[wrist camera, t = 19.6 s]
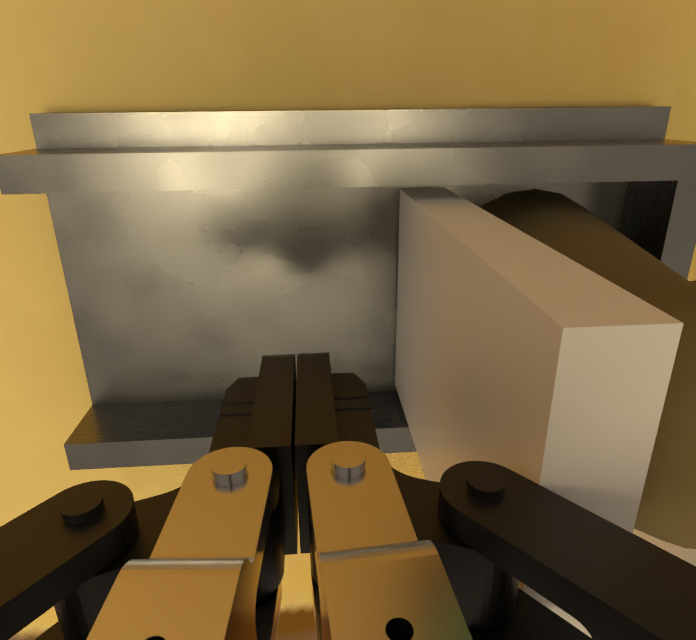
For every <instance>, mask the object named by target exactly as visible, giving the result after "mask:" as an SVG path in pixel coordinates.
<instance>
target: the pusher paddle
mask: <svg viewBox="0 0 696 640" xmlns="http://www.w3.org/2000/svg"><path fill="white" fill-rule="evenodd" d="M683 324H684V323H682V322H681V321H679V320H677V319H675V318H674V317H672V316H670V315H668V314H666V313H665V312H663V311H661V310H659V309H658V308H656V307H654V306H652V305H651V304H649V303H647V302H645V301H644V300H642V299H640V298H638V297H637V296H635V295H633V294H631V293H630V292H628V291H626V290H624V289H622V288H621V287H619V286H617V285H615V284H614V283H612V282H610V281H608V280H607V279H605V278H603V277H601V276H600V275H598V274H596V273H594V272H593V271H591V270H589V269H587V268H585V267H584V266H582V265H580V264H578V263H577V262H575V261H573V260H571V259H570V258H568V257H566V256H564V255H563V254H561V253H559V252H557V251H556V250H554V249H552V248H550V247H549V246H547V245H545V244H543V243H541V242H540V241H538V240H536V239H534V238H533V237H531V236H529V235H527V234H526V233H524V232H522V231H520V230H519V229H517V228H515V227H513V226H512V225H510V224H508V223H506V222H505V221H503V220H501V219H499V218H497V217H496V216H494V215H492V214H490V213H489V212H487V211H485V210H483V209H482V208H480V207H478V206H476V205H475V204H473V203H471V202H469V201H468V200H466V199H464V198H462V197H461V196H459V195H457V194H455V193H453V192H452V191H450V190H448V189H446V188H418V189H400V208H399V246H398V285H397V323H396V362H395V386H396V389H397V392H398V395H399V398H400V402H401V405H402V408H403V411H404V414H405V417H406V420H407V423H408V426H409V429H410V432H411V435H412V439H413V442H414V445H415V448H416V451H417V454H418V457H419V460H420V463H421V466H422V469H423V473H424V476H425V479H426V480H430V481H436V482H440V479H441V476H442V474H443V473H444V472H445V471H446V470H447V469H448V468H449V467H451V466H453V465H455V464H458V463H461V462H466V461H485V462H491V463H495V464H498V465H501V466H504V467H506V468H508V469H510V470H512V471H514V472H516V473H518V474H520V475H522V476H524V477H526V478H527V479H529V480H531V481H533V482H535V483H537V484H539V485H541V486H543V487H545V488H547V489H548V490H550V491H552V492H554V493H556V494H558V495H560V496H562V497H564V498H566V499H568V500H569V501H571V502H573V503H575V504H577V505H579V506H581V507H583V508H585V509H587V510H589V511H590V512H592V513H594V514H596V515H598V516H600V517H602V518H604V519H606V520H608V521H610V522H611V523H613V524H615V525H617V526H619V527H621V528H623V529H625V530H627V531H629V532H631V533H633V529H634V525H635V521H636V517H637V513H638V509H639V505H640V500H641V496H642V492H643V488H644V484H645V480H646V476H647V472H648V468H649V463H650V459H651V455H652V451H653V447H654V443H655V439H656V435H657V431H658V426H659V422H660V418H661V414H662V410H663V406H664V402H665V398H666V394H667V390H668V385H669V381H670V377H671V373H672V369H673V365H674V361H675V357H676V353H677V348H678V344H679V340H680V336H681V332H682V328H683ZM519 589H521V590H522V591H524V592H525V593H527V594H528V595H530V596H531V597H533V598H534V599H535V600H537V601H538V602H540V603H541V604H543V605H544V606H546V607H547V608H549V609H550V610H551V611H553V612H554V613H556V614H557V615H559V616H560V617H562V618H563V619H564V620H566V621H567V622H569V623H570V624H572V625H573V626H575V627H576V628H578V629H579V630H580V631H582V632H583V633H585V634H586V635H588V636H589V637H591V635H590V634H589V632H588V631H587V630H586V628H585V627H584V626H583V625H582V624H581V623H580V622H579V621H577V620H576V619H575V618H573V617H572V616H571V615H569V614H568V613H566V612H565V611H563V610H562V609H560V608H559V607H557V606H556V605H554V604H553V603H551V602H550V601H548V600H547V599H546V598H544V597H543V596H541V595H540V594H538V593H537V592H535V591H534V590H532V589H531V588H529V587H528V586H526V585H525V584H523V583H522V582H520V581H519ZM591 638H592V637H591Z"/></svg>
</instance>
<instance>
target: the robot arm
mask: <svg viewBox="0 0 696 640" xmlns="http://www.w3.org/2000/svg"><path fill="white" fill-rule="evenodd" d="M298 513H299V531H300V549H301V553H310V558H311V579H312V597H313V606H314V616H315V625H316V634H317V640H696V567H695V566H694V565H692V564H690V563H688V562H686V561H684V560H682V559H680V558H678V557H676V556H674V555H673V554H670V553H669V552H667V551H665V550H663V549H661V548H659V547H657V546H655V545H653V544H652V543H650V542H648V541H646V540H644V539H642V538H640V537H638V536H636V535H634V534H632V533H631V532H629V531H627V530H625V529H623V528H621V527H619V526H617V525H615V524H613V523H611V522H610V521H608V520H606V519H604V518H602V517H600V516H598V515H596V514H594V513H592V512H590V511H589V510H587V509H585V508H583V507H581V506H579V505H577V504H575V503H573V502H571V501H569V500H568V499H566V498H564V497H562V496H560V495H558V494H556V493H554V492H552V491H550V490H548V489H547V488H545V487H543V486H541V485H539V484H537V483H535V482H533V481H531V480H529V479H527V478H526V477H524V476H522V475H520V474H518V473H516V472H514V471H512V470H510V469H508V468H506V467H504V466H501V465H498V464H495V463H491V462H485V461H466V462H461V463H458V464H455V465H453V466H451V467H449V468H448V469H447V470H446V471H445V472H444V473H443V474H442V476H441V479H440V482H436V481H430V480H424V479H419V478H414V477H411V476H408V475H405V474H403V473H401V472H399V471H397V470H395V469H394V468H392V467H391V465H390V462H389V460H388V458H387V456H386V455H385V454H384V453H383V452H382V451H381V450H380V448H379V443H378V439H377V434H376V430H375V425H374V421H373V416H372V412H371V407H370V403H369V399H368V394H367V389H366V385H365V383H364V382H363V381H362V380H361V379H360V378H359V377H358V376H357V375H356V374H355V373H331V365H330V355H329V352H325V353H301V354H297V379H296V360H295V354H279V355H263V356H262V360H261V366H260V372H259V377H241V378H238V379H237V380H236V381H235V382H234V383H233V384H232V385H231V386H230V387H229V388H227V389H226V392H225V396H224V399H223V403H222V407H221V410H220V414H219V418H218V421H217V425H216V428H215V432H214V436H213V439H212V443H211V446H210V450H209V453H208V454H206V455H204V456H203V457H201V458H200V459H198V460H197V461H196V462H195V463H194V464H193V465H192V466H191V467H190V468H189V470H188V472H187V474H186V476H185V479H184V481H183V483H182V486H181V487H179V488H177V489H175V490H173V491H170V492H167V493H164V494H161V495H157V496H154V497H150V498H146V499H143V500H139V501H135V502H134V498H133V494H132V492H131V490H130V489H129V488H128V487H127V486H125V485H124V484H121V483H119V482H115V481H108V480H100V481H91V482H86V483H82V484H79V485H76V486H73V487H71V488H68V489H66V490H64V491H62V492H60V493H58V494H56V495H55V496H53V497H51V498H49V499H48V500H46V501H44V502H43V503H41V504H39V505H37V506H36V507H34V508H32V509H31V510H29V511H27V512H25V513H24V514H22V515H20V516H18V517H17V518H15V519H13V520H12V521H10V522H8V523H6V524H5V525H3V526H1V527H0V640H8V639H10V638H11V637H12V636H14V635H15V634H16V633H18V632H19V631H20V630H22V629H23V628H24V627H26V626H27V625H29V624H30V623H31V622H33V621H34V620H35V619H37V618H38V617H39V616H41V615H42V614H43V613H45V612H46V611H47V610H49V609H50V608H51V607H53V606H54V607H55V611H56V614H57V617H58V622H57V623H56V624H54V625H53V626H52V627H50V628H49V629H48V630H46V631H45V632H44V633H43V634H41V635H40V636H39V637H37V638H36V639H35V640H276V634H277V626H278V620H279V612H280V605H281V598H282V586H281V580H282V577H283V573H284V558H285V555H288V554H297V540H298ZM519 581H520V582H522V583H523V584H525V585H526V586H528V587H529V588H531V589H532V590H534V591H535V592H537V593H538V594H540V595H541V596H543V597H544V598H546V599H547V600H548V601H550V602H551V603H553V604H554V605H556V606H557V607H559V608H560V609H562V610H563V611H565V612H566V613H568V614H569V615H571V616H572V617H573V618H575V619H576V620H577V621H579V622H580V623H581V624H582V625H583V626H584V627H585V628H586V630H587V631H588V632H589V634H590V635H591V637H592V638H591V637H589V636H588V635H586V634H585V633H583V632H582V631H580V630H579V629H578V628H576V627H575V626H573V625H572V624H570V623H569V622H567V621H566V620H564V619H563V618H562V617H560V616H559V615H557V614H556V613H554V612H553V611H551V610H550V609H549V608H547V607H546V606H544V605H543V604H541V603H540V602H538V601H537V600H535V599H534V598H533V597H531V596H530V595H528V594H527V593H525V592H524V591H522V590H521V589H519Z"/></svg>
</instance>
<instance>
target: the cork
mask: <svg viewBox="0 0 696 640" xmlns="http://www.w3.org/2000/svg"><path fill="white" fill-rule="evenodd" d="M480 208H482V209H483V210H485V211H487V212H489V213H490V214H492V215H494V216H496V217H497V218H499V219H501V220H503V221H505V222H506V223H508V224H510V225H512V226H513V227H515V228H517V229H519V230H520V231H522V232H524V233H526V234H527V235H529V236H531V237H533V238H534V239H536V240H538V241H540V242H541V243H543V244H545V245H547V246H549V247H550V248H552V249H554V250H556V251H557V252H559V253H561V254H563V255H564V256H566V257H568V258H570V259H571V260H573V261H575V262H577V263H578V264H580V265H582V266H584V267H585V268H587V269H589V270H591V271H593V272H594V273H596V274H598V275H600V276H601V277H603V278H605V279H607V280H608V281H610V282H612V283H614V284H615V285H617V286H619V287H621V288H622V289H624V290H626V291H628V292H630V293H631V294H633V295H635V296H637V297H638V298H640V299H642V300H644V301H645V302H647V303H649V304H651V305H652V306H654V307H656V308H658V309H659V310H661V311H663V312H665V313H666V314H668V315H670V316H672V317H674V318H675V319H677V320H679V321H681V322H682V323H684V324H683V328H682V332H681V336H680V340H679V344H678V348H677V353H676V357H675V361H674V365H673V369H672V373H671V377H670V381H669V385H668V390H667V394H666V398H665V402H664V406H663V410H662V414H661V418H660V422H659V426H658V431H657V435H656V439H655V443H654V447H653V451H652V455H651V459H650V463H649V468H648V472H647V476H646V480H645V484H644V488H643V492H642V496H641V500H640V505H639V509H638V513H637V517H636V521H635V525H634V528H635V529H637V530H639V531H642V532H644V533H646V534H648V535H651V536H653V537H655V538H658V539H660V540H663V541H666V542H669V543H672V544H675V545H678V546H681V547H684V548H691V549H696V281H688V280H687V279H685V278H684V277H682V276H681V275H680V274H678V273H677V272H675V271H674V270H672V269H671V268H670V267H668V266H667V265H665V264H664V263H663V262H661V261H660V260H658V259H657V258H655V257H654V256H653V255H651V254H650V253H648V252H647V251H645V250H644V249H643V248H641V247H640V246H638V245H637V244H635V243H634V242H633V241H631V240H630V239H628V238H627V237H626V236H624V235H623V234H621V233H620V232H618V231H617V230H616V229H614V228H613V227H611V226H610V225H608V224H607V223H606V222H604V221H603V220H601V219H600V218H598V217H597V216H596V215H594V214H593V213H591V212H590V211H589V210H587V209H586V208H584V207H583V206H581V205H579V204H578V203H576V202H574V201H573V200H571V199H570V198H568V197H566V196H565V195H563V194H561V193H555V192H550V191H545V190H539V189H531V190H524V191H517V192H511V193H507V194H504V195H502V196H500V197H498V198H496V199H494V200H492V201H490V202H488V203H486V204H484V205H482V206H481V207H480Z"/></svg>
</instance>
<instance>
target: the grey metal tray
mask: <svg viewBox="0 0 696 640" xmlns="http://www.w3.org/2000/svg"><path fill="white" fill-rule="evenodd" d="M670 109H671V107H575V108H484V109H393V110H302V111H211V112H120V113H35V114H29V115H30V119H31V124H32V128H33V133H34V138H35V142H36V147H37V149H32V150H25V151H18V152H12V153H5V154H0V190H1V194H40V193H47V197H48V202H49V207H50V211H51V216H52V220H53V225H54V230H55V234H56V239H57V243H58V248H59V253H60V257H61V262H62V266H63V271H64V276H65V280H66V285H67V289H68V294H69V299H70V303H71V308H72V312H73V317H74V322H75V326H76V331H77V335H78V340H79V345H80V349H81V354H82V358H83V363H84V368H85V372H86V377H87V381H88V386H89V390H90V395H91V400H92V404H93V405H92V406H91V408H90V409H89V411H88V412H87V413H86V415H85V416H84V417H83V419H82V420H81V422H80V423H79V424H78V426H77V427H76V429H75V430H74V431H73V433H72V434H71V436H70V437H69V438H68V440H67V441H66V442H65V444H64V447H65V451H66V455H67V459H68V463H69V467H70V470H80V469H98V468H117V467H136V466H154V465H173V464H192V463H195V462H196V461H197V460H198V459H200V458H201V457H203V456H204V455H206V454H208V453H209V450H210V446H211V443H212V439H213V436H214V432H215V428H216V425H217V421H218V418H219V414H220V410H221V407H222V403H223V399H224V396H225V392H226V389H227V388H229V387H230V386H231V385H232V384H233V383H234V382H235V381H236V380H237V379H238V378H241V377H259V372H260V366H261V360H262V356H263V355H279V354H295V360H296V379H297V354H301V353H325V352H329V355H330V365H331V373H355V374H356V375H357V376H358V377H359V378H360V379H361V380H362V381H363V382H364V383H365V385H366V389H367V394H368V399H369V403H370V407H371V412H372V416H373V421H374V425H375V430H376V434H377V439H378V443H379V448H380V450H381V451H382V452H383V453H398V452H416V448H415V445H414V442H413V439H412V435H411V432H410V429H409V426H408V423H407V420H406V417H405V414H404V411H403V408H402V405H401V402H400V398H399V395H398V392H397V389H396V386H395V362H396V323H397V285H398V246H399V208H400V189H418V188H446V189H448V190H450V191H452V192H453V193H455V194H457V195H459V196H461V197H462V198H464V199H466V200H468V201H469V202H471V203H473V204H475V205H476V206H478V207H481V206H482V205H484V204H486V203H488V202H490V201H492V200H494V199H496V198H498V197H500V196H502V195H504V194H507V193H511V192H517V191H524V190H531V189H539V190H545V191H550V192H555V193H561V194H563V195H565V196H566V197H568V198H570V199H571V200H573V201H574V202H576V203H578V204H579V205H581V206H583V207H584V208H586V209H587V210H589V211H590V212H591V213H593V214H594V215H596V216H597V217H598V218H600V219H601V220H603V221H604V222H606V223H607V224H608V225H610V226H611V227H613V228H614V229H616V230H617V231H618V232H620V233H621V234H623V235H624V236H626V237H627V238H628V239H630V240H631V241H633V242H634V243H635V244H637V245H638V246H640V247H641V248H643V249H644V250H645V251H647V252H648V253H650V254H651V255H653V256H654V257H655V258H657V259H658V260H660V261H661V262H663V263H664V264H665V265H667V266H668V267H670V268H671V269H672V270H674V271H675V272H677V273H678V274H680V275H681V276H682V277H684V278H685V279H687V277H688V273H689V269H690V265H691V261H692V256H693V252H694V248H695V244H696V142H691V141H679V140H668V139H665V134H666V129H667V124H668V119H669V114H670Z"/></svg>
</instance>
